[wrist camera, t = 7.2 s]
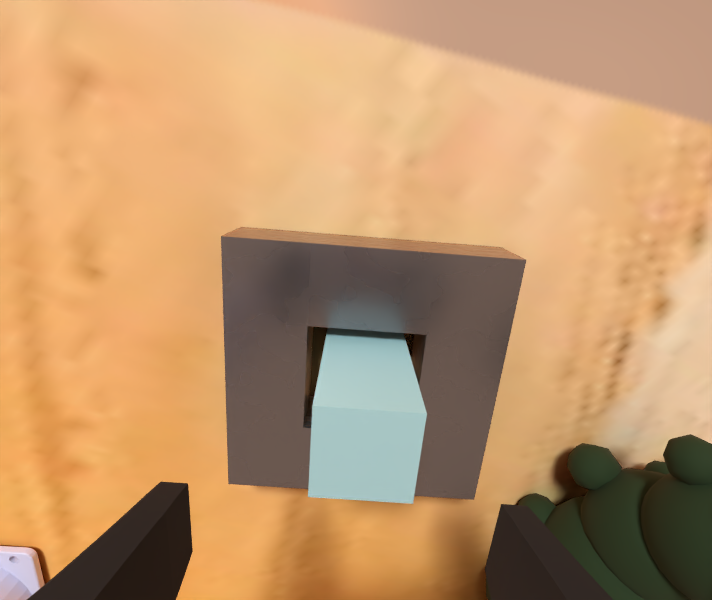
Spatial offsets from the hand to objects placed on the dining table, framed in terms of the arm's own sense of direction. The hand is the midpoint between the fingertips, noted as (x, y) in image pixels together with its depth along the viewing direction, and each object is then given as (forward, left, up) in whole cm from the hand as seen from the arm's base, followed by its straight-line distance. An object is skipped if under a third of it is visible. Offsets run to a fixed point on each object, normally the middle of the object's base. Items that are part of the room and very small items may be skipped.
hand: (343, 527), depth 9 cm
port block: (+1, 0, -9) cm, 9 cm away
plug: (+1, 0, -9) cm, 9 cm away
